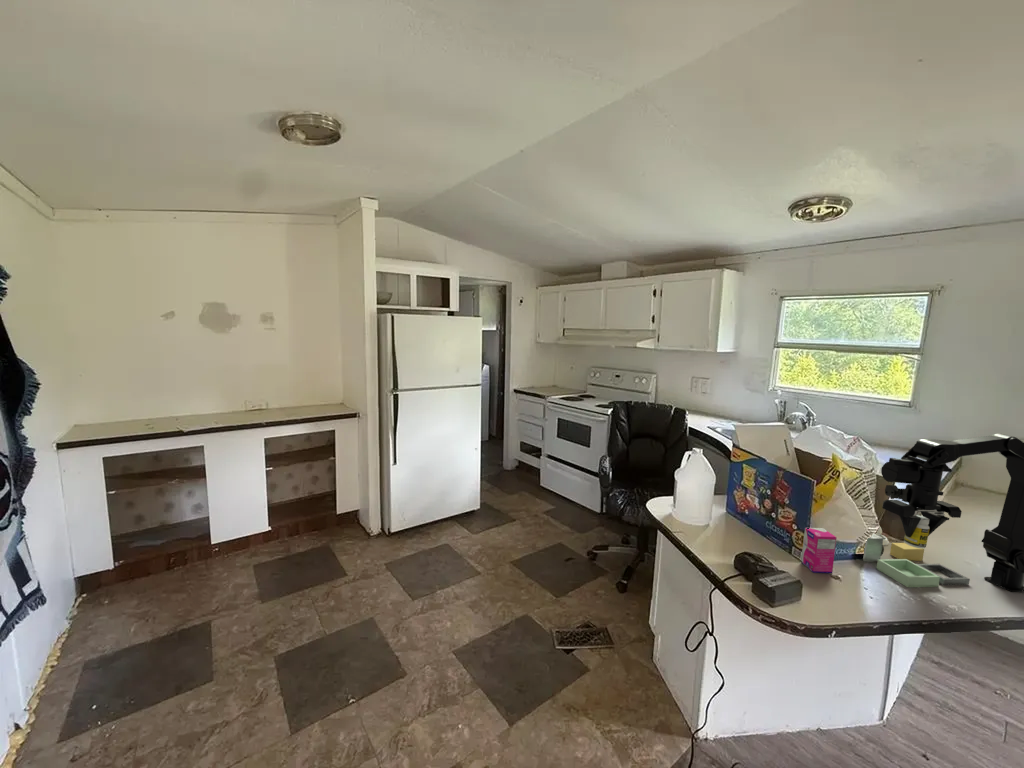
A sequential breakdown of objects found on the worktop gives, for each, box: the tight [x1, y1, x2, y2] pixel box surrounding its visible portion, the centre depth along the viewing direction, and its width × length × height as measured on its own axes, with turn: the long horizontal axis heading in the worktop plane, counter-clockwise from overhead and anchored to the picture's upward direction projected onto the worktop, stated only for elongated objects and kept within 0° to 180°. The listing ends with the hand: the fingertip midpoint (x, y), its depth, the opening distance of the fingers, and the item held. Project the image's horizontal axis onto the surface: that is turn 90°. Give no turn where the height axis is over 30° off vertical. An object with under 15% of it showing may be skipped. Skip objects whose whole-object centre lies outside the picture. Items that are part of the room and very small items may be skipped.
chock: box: [889, 542, 925, 562], centre depth 136 cm, size 7×4×4 cm, turn 95°
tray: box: [876, 558, 940, 588], centre depth 124 cm, size 9×9×3 cm
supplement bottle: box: [903, 514, 930, 549], centre depth 123 cm, size 5×5×8 cm
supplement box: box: [800, 527, 837, 574], centre depth 127 cm, size 6×6×12 cm
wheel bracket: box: [862, 534, 885, 563], centre depth 134 cm, size 7×5×9 cm, turn 95°
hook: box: [876, 525, 890, 546], centre depth 148 cm, size 8×12×7 cm
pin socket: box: [916, 563, 971, 586], centre depth 125 cm, size 8×8×2 cm
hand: (916, 536), depth 123 cm, fingers closed on supplement bottle, 5 cm apart
